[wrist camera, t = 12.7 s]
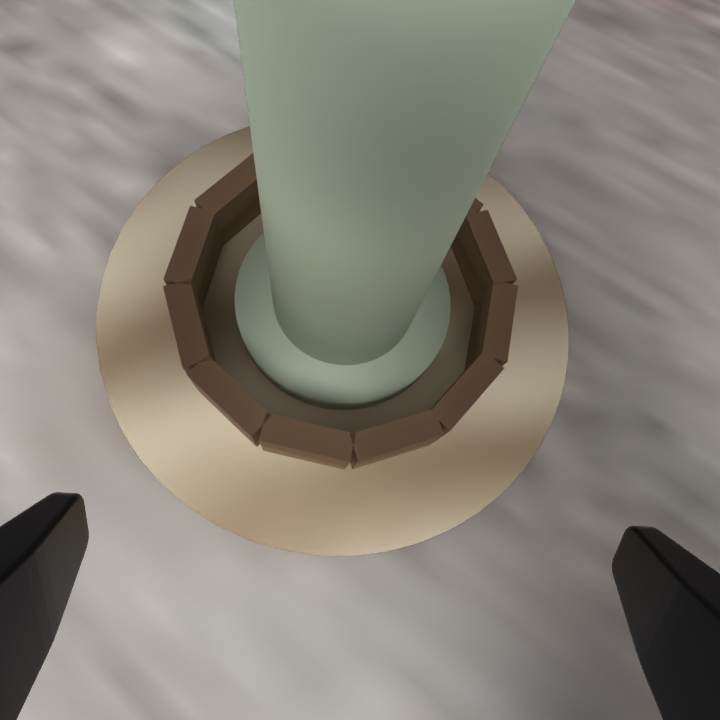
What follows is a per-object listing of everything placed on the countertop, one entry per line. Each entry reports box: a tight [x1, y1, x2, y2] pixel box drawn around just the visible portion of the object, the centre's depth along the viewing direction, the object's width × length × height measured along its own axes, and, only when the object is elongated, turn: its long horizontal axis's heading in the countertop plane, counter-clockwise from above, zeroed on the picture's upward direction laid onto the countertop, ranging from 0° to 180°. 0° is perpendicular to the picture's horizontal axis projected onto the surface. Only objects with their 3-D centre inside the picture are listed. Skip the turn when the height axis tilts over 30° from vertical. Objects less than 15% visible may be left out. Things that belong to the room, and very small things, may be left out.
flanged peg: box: [234, 0, 576, 410], centre depth 13 cm, size 7×7×13 cm
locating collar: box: [96, 126, 569, 556], centre depth 19 cm, size 16×16×3 cm
